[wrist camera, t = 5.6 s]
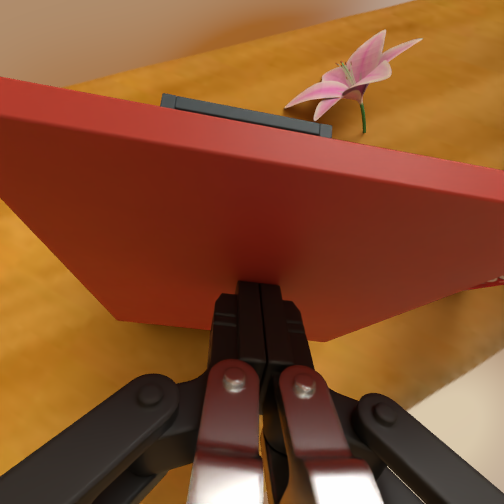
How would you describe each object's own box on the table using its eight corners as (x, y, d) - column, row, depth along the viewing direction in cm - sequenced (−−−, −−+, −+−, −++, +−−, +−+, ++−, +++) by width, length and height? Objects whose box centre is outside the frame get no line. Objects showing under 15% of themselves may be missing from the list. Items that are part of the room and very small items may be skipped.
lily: (372, 72, 40) (371, -19, 32) (440, 129, 34) (462, 35, 26) (282, 124, 41) (259, 49, 33) (333, 190, 35) (321, 117, 26)
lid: (-72, 61, 5) (-98, 99, 5) (624, 191, 7) (638, 226, 7) (119, 307, 21) (116, 320, 20) (325, 329, 22) (325, 342, 22)
